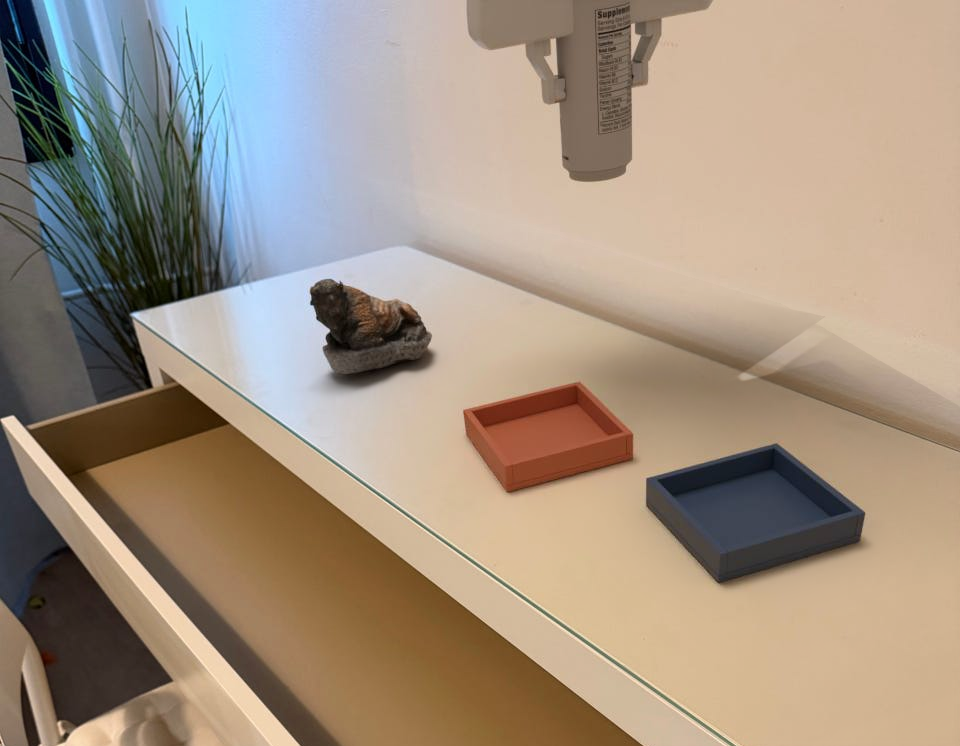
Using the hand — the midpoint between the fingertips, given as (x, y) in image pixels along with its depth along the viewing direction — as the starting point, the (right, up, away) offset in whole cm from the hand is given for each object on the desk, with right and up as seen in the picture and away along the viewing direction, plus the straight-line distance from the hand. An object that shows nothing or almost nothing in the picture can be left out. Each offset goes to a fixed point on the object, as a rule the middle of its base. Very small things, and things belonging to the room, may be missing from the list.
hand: (595, 94), depth 77 cm
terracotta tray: (-4, -29, +3) cm, 29 cm away
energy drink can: (+1, -5, +4) cm, 6 cm away
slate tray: (+10, -37, -8) cm, 39 cm away
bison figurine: (-20, -17, +20) cm, 33 cm away
